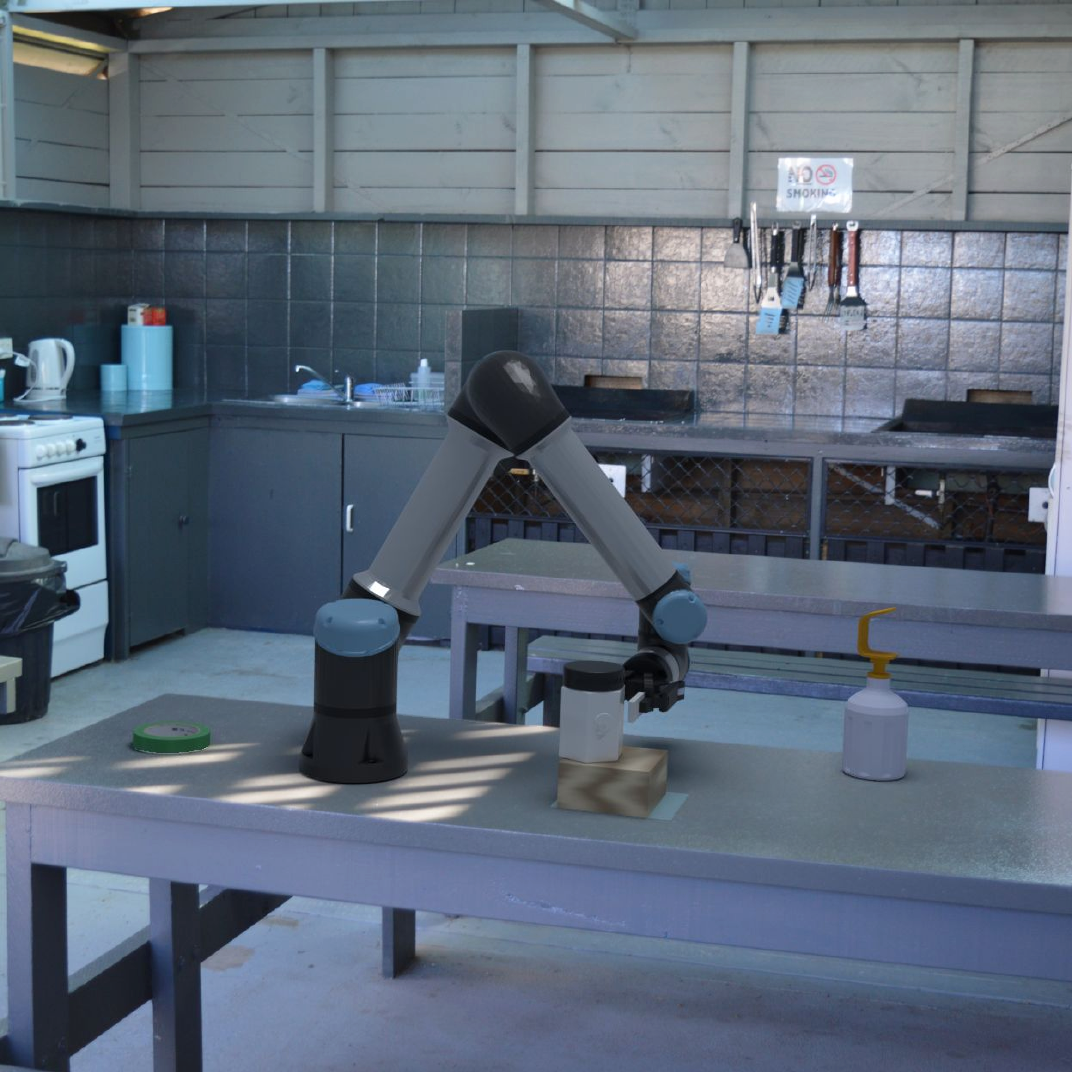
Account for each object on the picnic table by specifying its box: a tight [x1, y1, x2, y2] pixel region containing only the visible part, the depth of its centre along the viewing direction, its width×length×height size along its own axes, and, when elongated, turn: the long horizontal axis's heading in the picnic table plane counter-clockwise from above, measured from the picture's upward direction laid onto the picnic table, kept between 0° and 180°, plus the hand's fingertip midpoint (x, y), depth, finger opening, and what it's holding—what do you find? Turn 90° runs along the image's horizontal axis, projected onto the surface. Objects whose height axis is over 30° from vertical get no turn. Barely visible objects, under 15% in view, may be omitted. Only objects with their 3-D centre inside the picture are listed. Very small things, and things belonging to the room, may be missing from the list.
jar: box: [558, 660, 625, 763], centre depth 195 cm, size 9×8×12 cm
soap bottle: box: [841, 606, 910, 782], centre depth 215 cm, size 9×9×25 cm
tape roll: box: [132, 721, 211, 753], centre depth 219 cm, size 11×11×3 cm
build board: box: [549, 791, 690, 822], centre depth 197 cm, size 16×13×1 cm
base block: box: [556, 745, 669, 819], centre depth 196 cm, size 12×12×6 cm
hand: (610, 710), depth 192 cm, fingers open, 5 cm apart
